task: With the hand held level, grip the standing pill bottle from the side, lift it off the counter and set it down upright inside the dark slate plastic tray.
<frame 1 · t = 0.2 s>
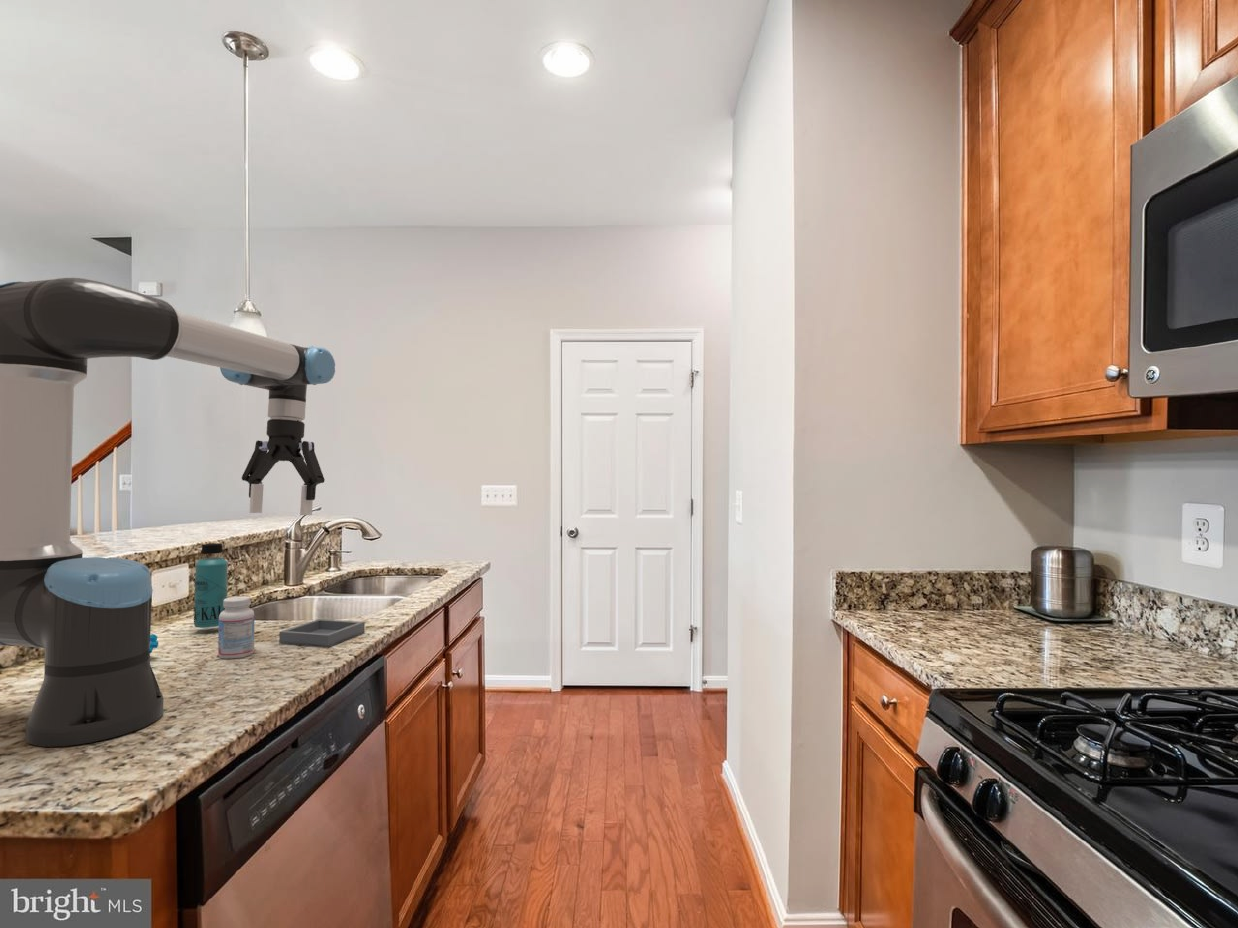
hand: (280, 514, 140), 27 cm above the counter, tool pointing down, fingers open, 13 cm apart
gear: (122, 663, 118), on the counter
tray: (323, 638, 136), on the counter
pill bottle: (236, 656, 123), on the counter
beverage bottle: (210, 631, 142), on the counter
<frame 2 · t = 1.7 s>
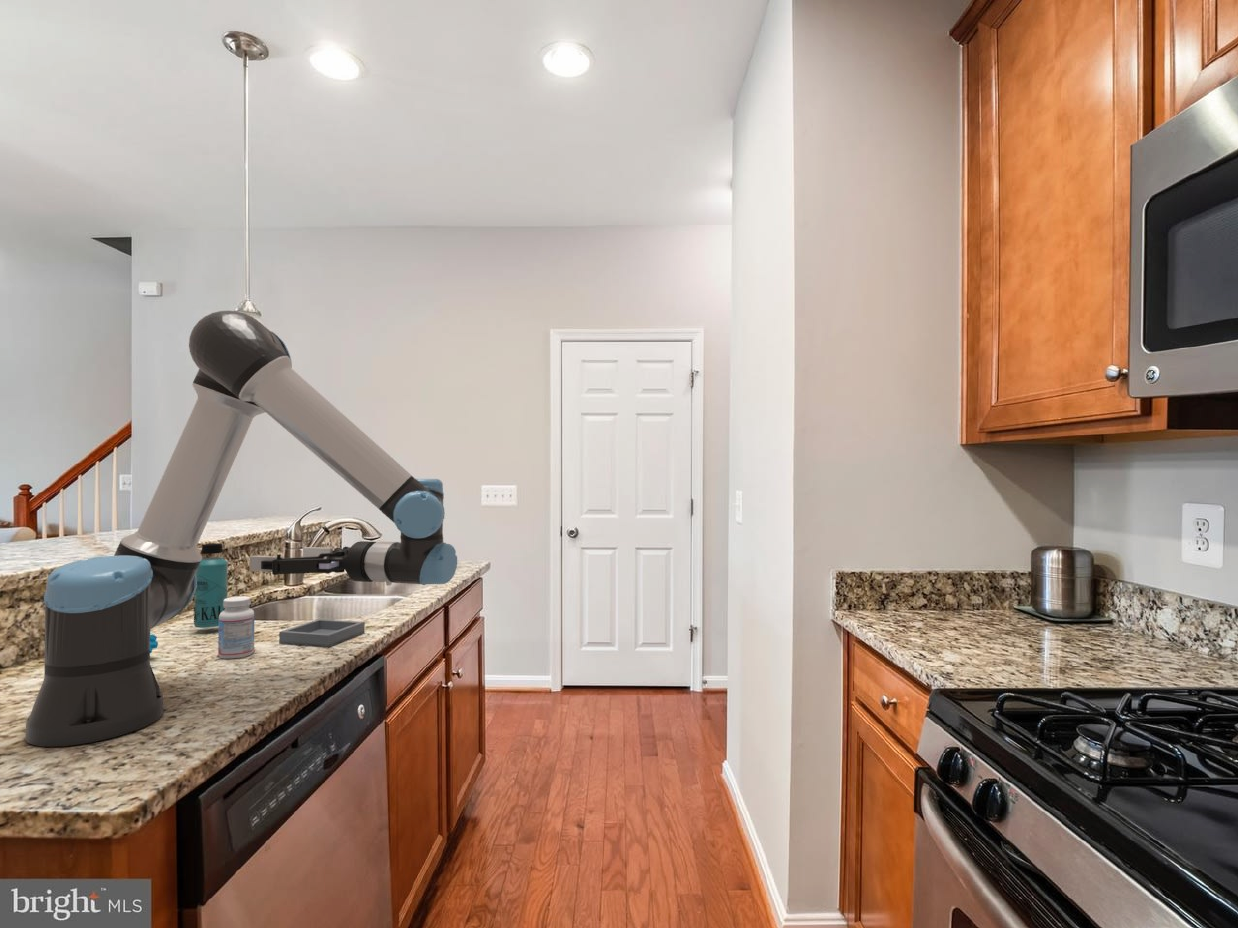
hand: (278, 558, 121), 20 cm above the counter, tool horizontal, fingers open, 13 cm apart
nothing on the counter moved.
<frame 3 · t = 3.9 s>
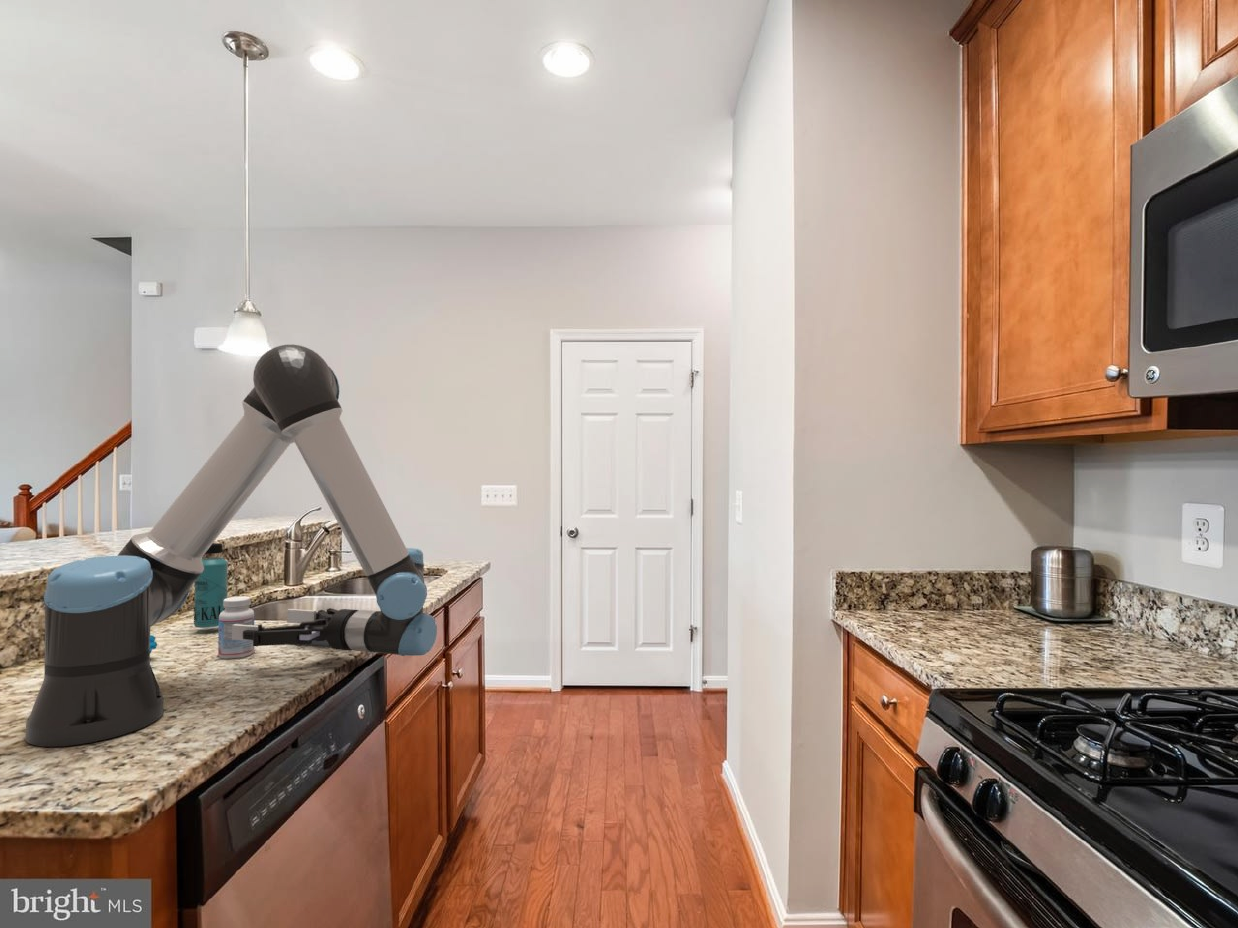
hand: (262, 623, 123), 6 cm above the counter, tool horizontal, fingers open, 13 cm apart
nothing on the counter moved.
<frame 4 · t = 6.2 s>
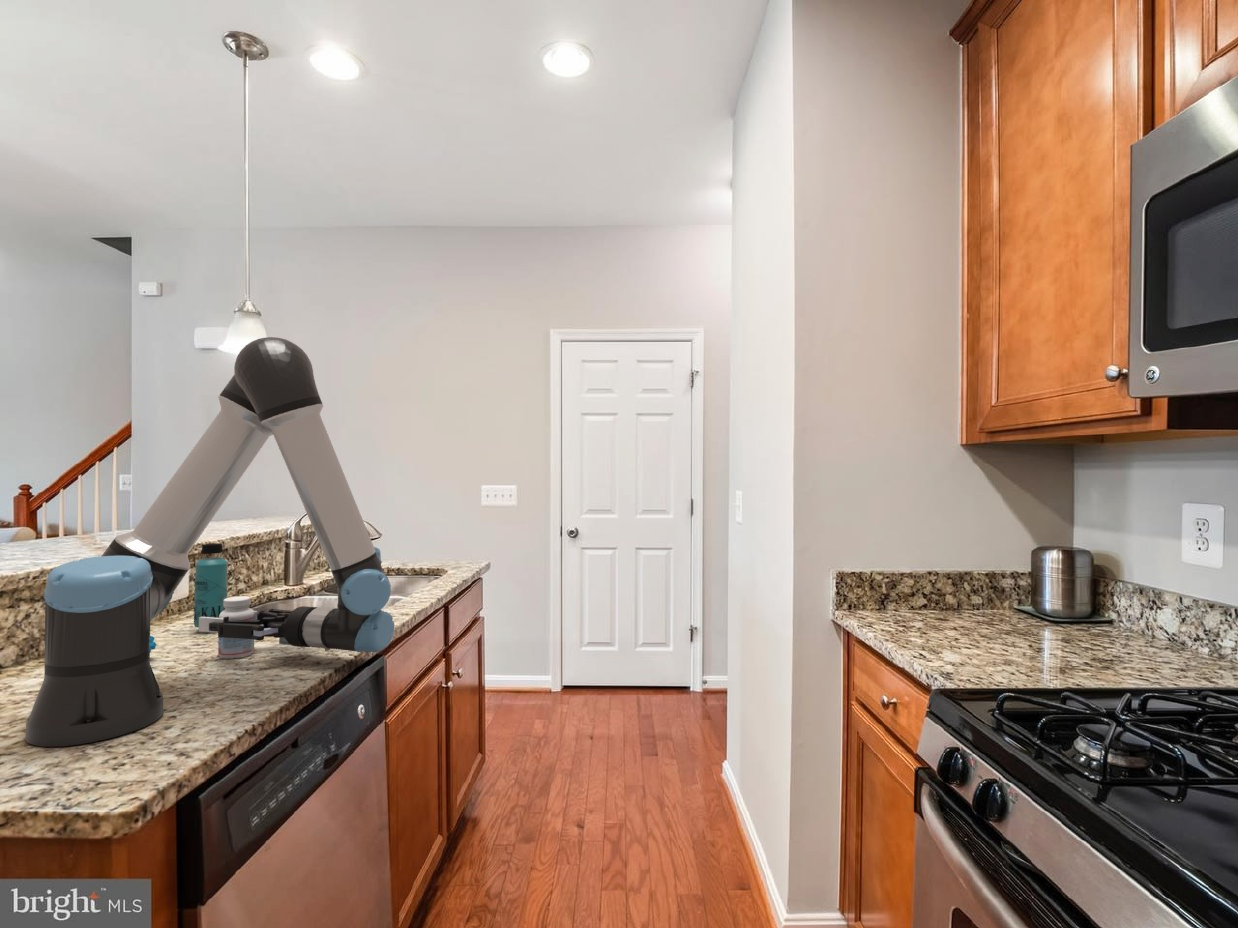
hand: (215, 620, 125), 7 cm above the counter, tool horizontal, fingers closed on pill bottle, 6 cm apart
pill bottle: (236, 656, 123), on the counter, touching gripper
everything else where it was.
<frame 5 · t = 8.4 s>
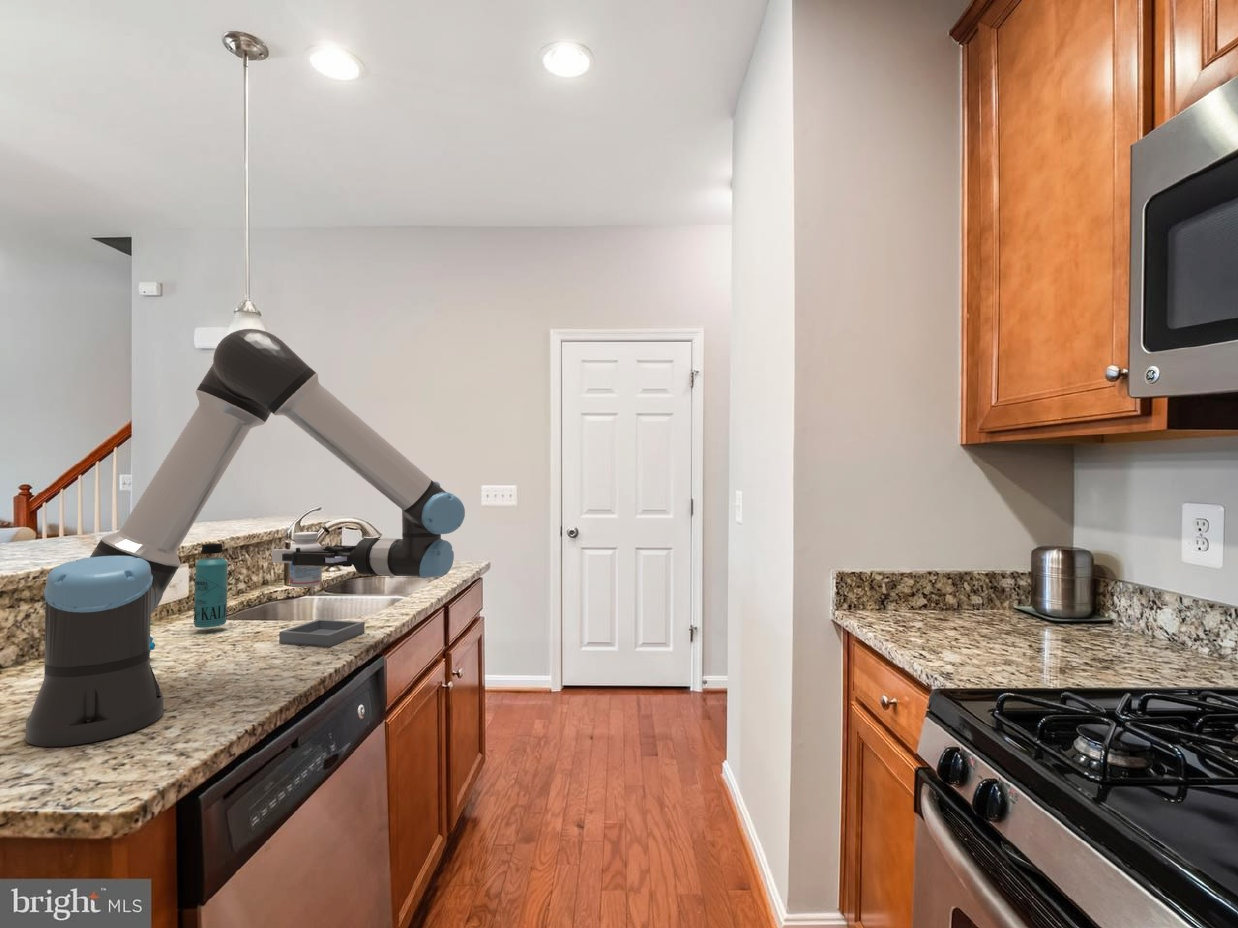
hand: (285, 553, 134), 19 cm above the counter, tool horizontal, fingers closed on pill bottle, 6 cm apart
pill bottle: (305, 586, 133), point 12 cm above the counter, touching gripper
everything else where it was.
when the fingers open (9 cm above the counter, at t = 10.9 s): pill bottle drops 1 cm, resting on tray.
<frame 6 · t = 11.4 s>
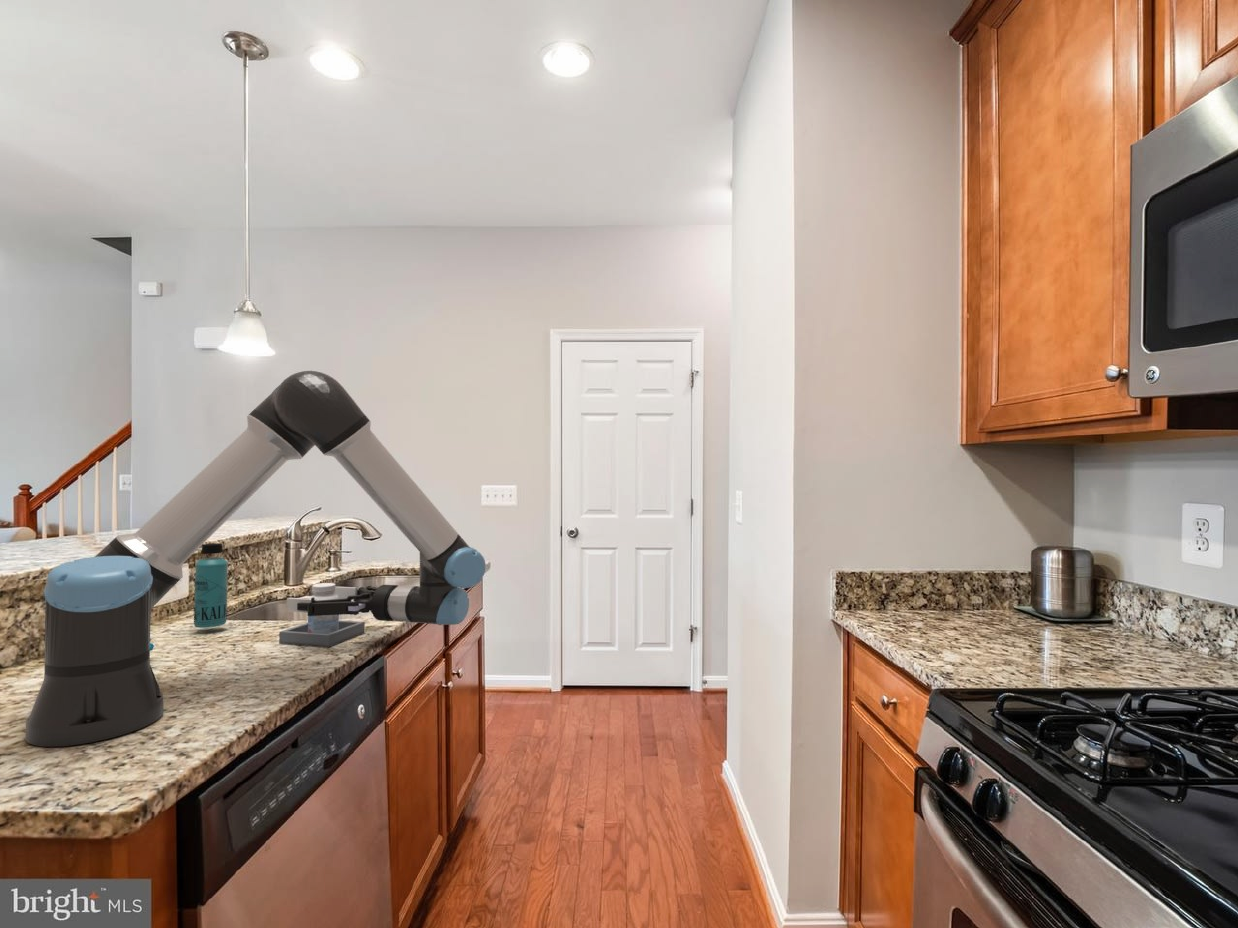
hand: (310, 598, 137), 9 cm above the counter, tool horizontal, fingers open, 13 cm apart
pill bottle: (323, 636, 136), resting on tray
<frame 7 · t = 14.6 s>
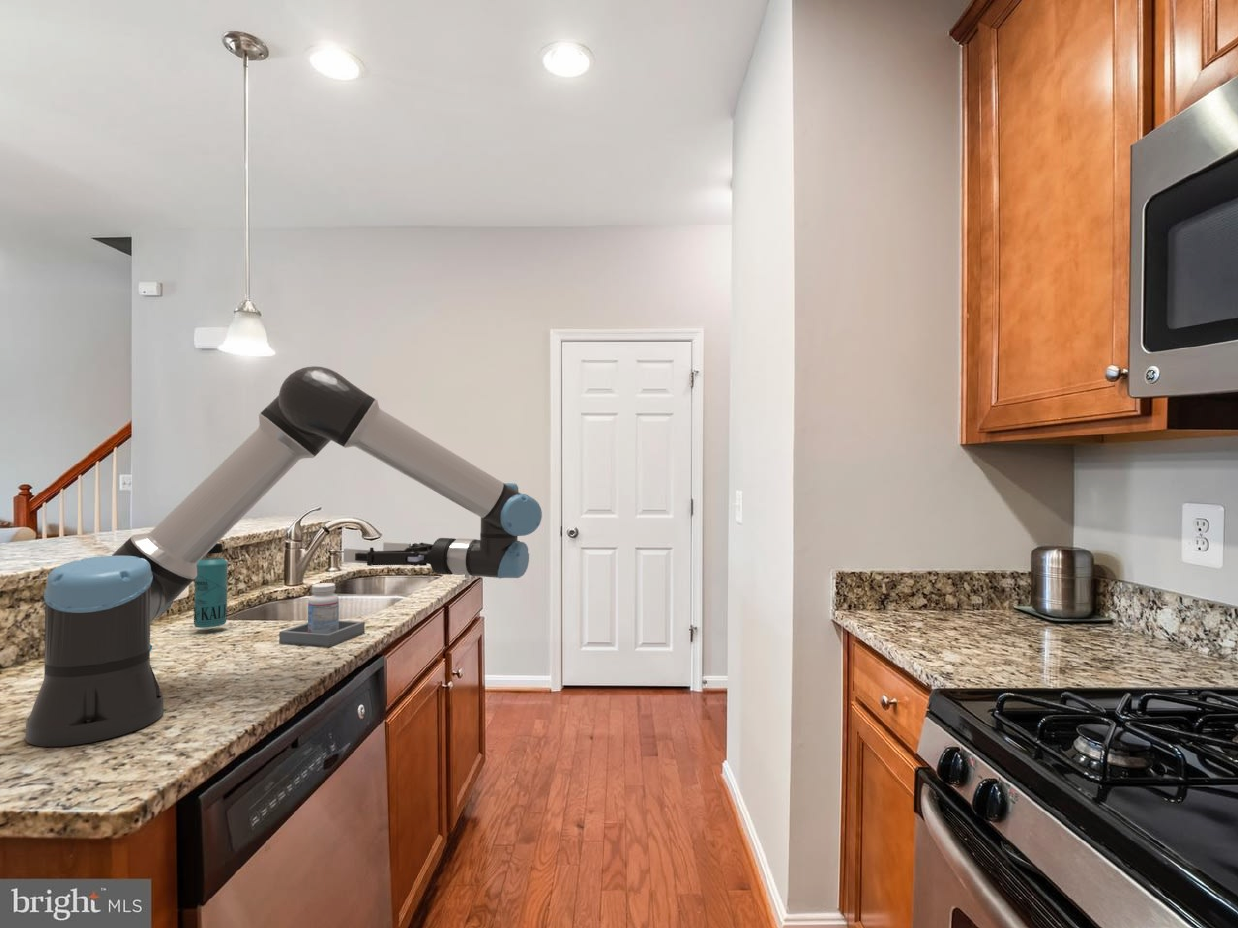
hand: (365, 551, 134), 19 cm above the counter, tool horizontal, fingers open, 13 cm apart
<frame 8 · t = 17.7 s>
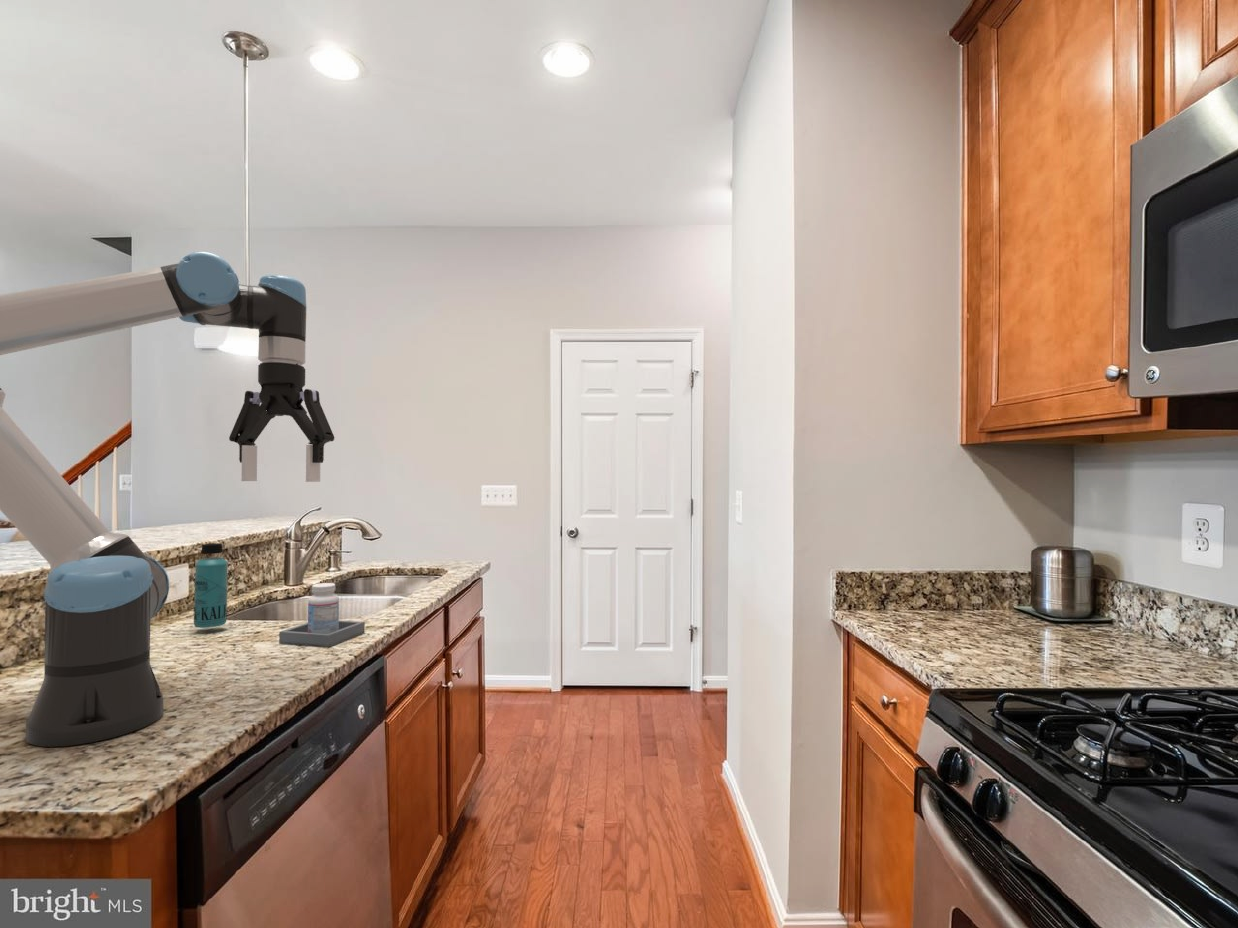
hand: (280, 481, 112), 35 cm above the counter, tool pointing down, fingers open, 13 cm apart
at the end: pill bottle 0.1 cm off-centre on the tray, point 0.3 cm above the tray's base; pill bottle tilted 0°; the gripper is holding nothing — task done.
